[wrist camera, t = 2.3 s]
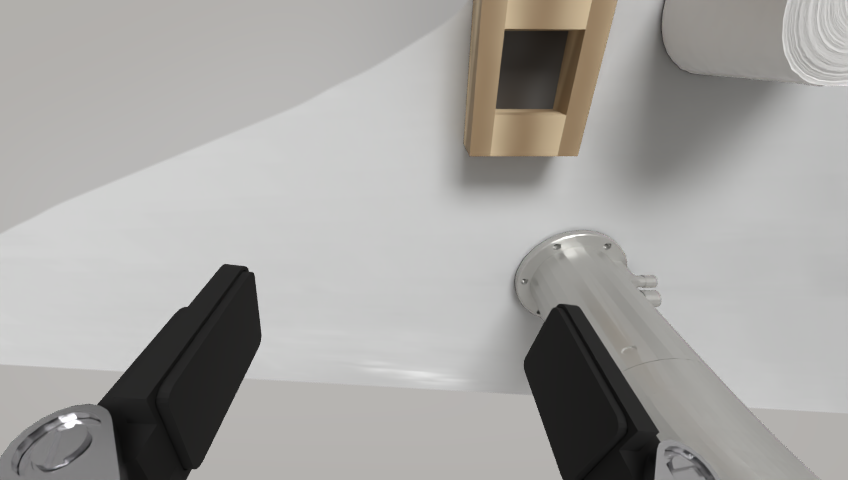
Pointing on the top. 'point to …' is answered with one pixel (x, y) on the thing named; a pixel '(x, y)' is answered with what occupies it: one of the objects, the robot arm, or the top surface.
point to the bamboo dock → (533, 74)
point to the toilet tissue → (760, 39)
